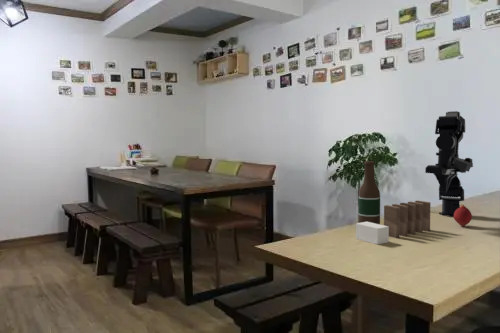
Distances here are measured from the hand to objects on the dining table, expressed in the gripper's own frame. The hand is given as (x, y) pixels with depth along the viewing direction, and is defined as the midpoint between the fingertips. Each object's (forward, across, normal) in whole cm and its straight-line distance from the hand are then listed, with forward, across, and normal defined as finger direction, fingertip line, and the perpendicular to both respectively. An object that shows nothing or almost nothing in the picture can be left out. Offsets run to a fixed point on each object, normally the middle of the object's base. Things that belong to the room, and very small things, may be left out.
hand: (444, 192), depth 155 cm
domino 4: (+12, -18, 0) cm, 22 cm away
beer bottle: (+13, -24, +15) cm, 31 cm away
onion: (+12, +1, -7) cm, 14 cm away
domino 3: (+13, -22, +1) cm, 26 cm away
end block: (+13, -40, +2) cm, 42 cm away
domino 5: (+12, -14, 0) cm, 19 cm away
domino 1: (+13, -30, +2) cm, 33 cm away
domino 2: (+13, -26, +1) cm, 29 cm away
